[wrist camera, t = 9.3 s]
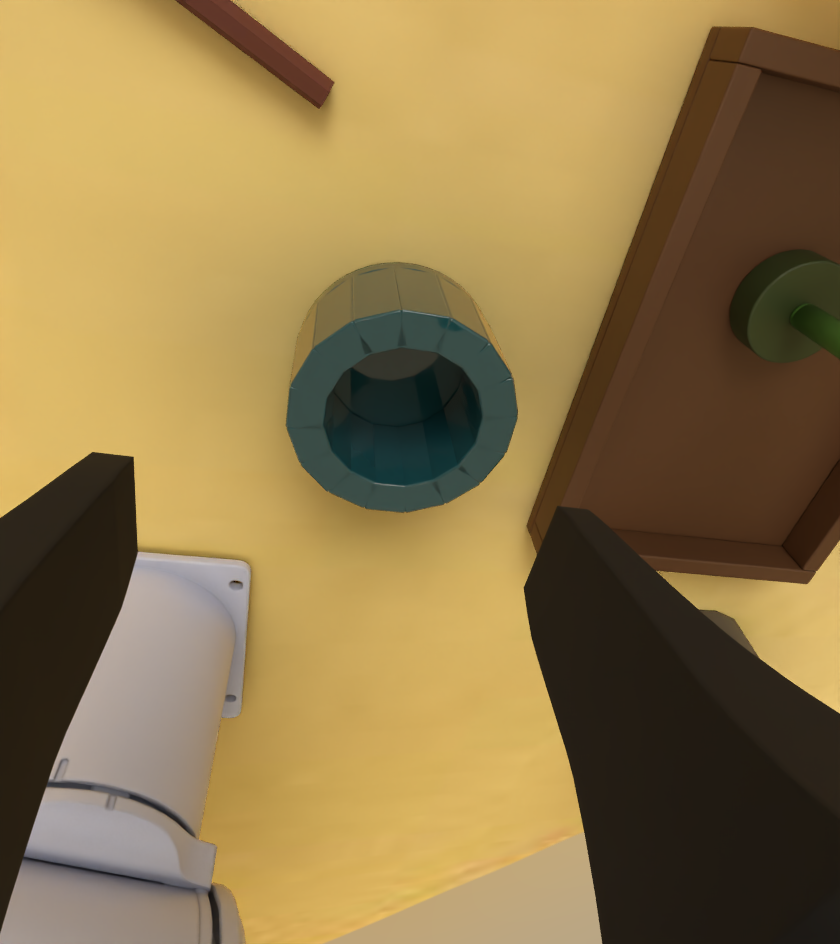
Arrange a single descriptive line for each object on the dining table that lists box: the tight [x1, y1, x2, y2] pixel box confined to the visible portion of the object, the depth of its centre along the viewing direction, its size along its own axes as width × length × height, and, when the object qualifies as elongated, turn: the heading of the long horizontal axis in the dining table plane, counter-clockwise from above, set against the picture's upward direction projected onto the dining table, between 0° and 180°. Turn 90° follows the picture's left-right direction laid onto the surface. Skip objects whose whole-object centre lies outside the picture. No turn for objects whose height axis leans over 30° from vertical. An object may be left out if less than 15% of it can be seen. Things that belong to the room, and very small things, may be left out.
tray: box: [527, 27, 840, 584], centre depth 21 cm, size 16×11×2 cm
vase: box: [286, 263, 518, 513], centre depth 19 cm, size 6×6×4 cm
